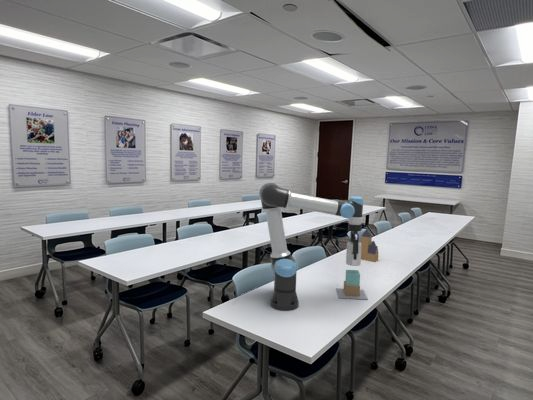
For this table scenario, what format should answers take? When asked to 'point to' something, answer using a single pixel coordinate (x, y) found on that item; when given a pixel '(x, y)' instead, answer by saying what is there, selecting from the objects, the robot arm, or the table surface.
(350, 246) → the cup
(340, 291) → the tower base
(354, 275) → the teal cube
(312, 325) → the table surface
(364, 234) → the toy building blocks
